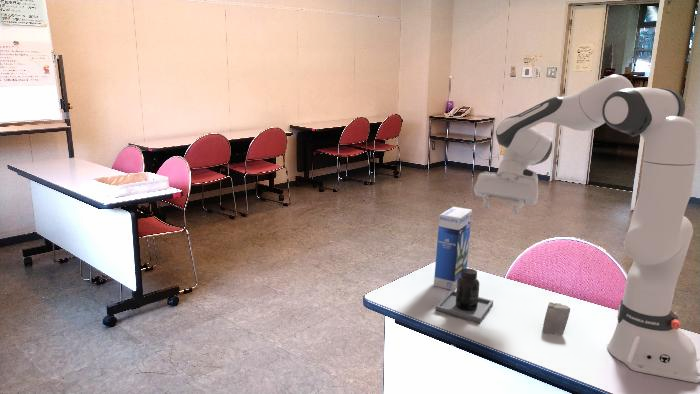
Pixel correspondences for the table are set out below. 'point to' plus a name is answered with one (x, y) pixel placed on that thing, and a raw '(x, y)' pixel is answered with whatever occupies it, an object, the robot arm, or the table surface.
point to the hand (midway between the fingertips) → (499, 210)
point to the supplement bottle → (467, 290)
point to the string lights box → (452, 246)
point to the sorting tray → (450, 308)
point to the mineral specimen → (556, 319)
